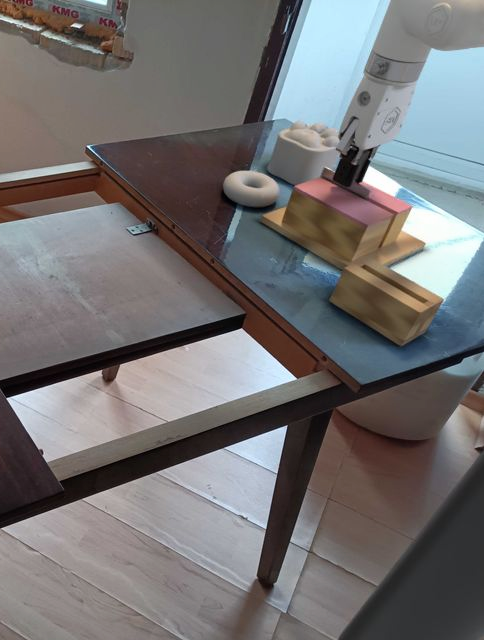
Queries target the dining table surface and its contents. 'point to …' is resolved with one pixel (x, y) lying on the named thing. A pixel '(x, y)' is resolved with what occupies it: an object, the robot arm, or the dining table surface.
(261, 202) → the donut
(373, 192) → the cake slice
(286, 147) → the lumpy-topped squat cylinder
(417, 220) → the dining table surface
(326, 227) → the cake
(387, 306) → the knife block
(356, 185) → the flat grey rectangular blade
